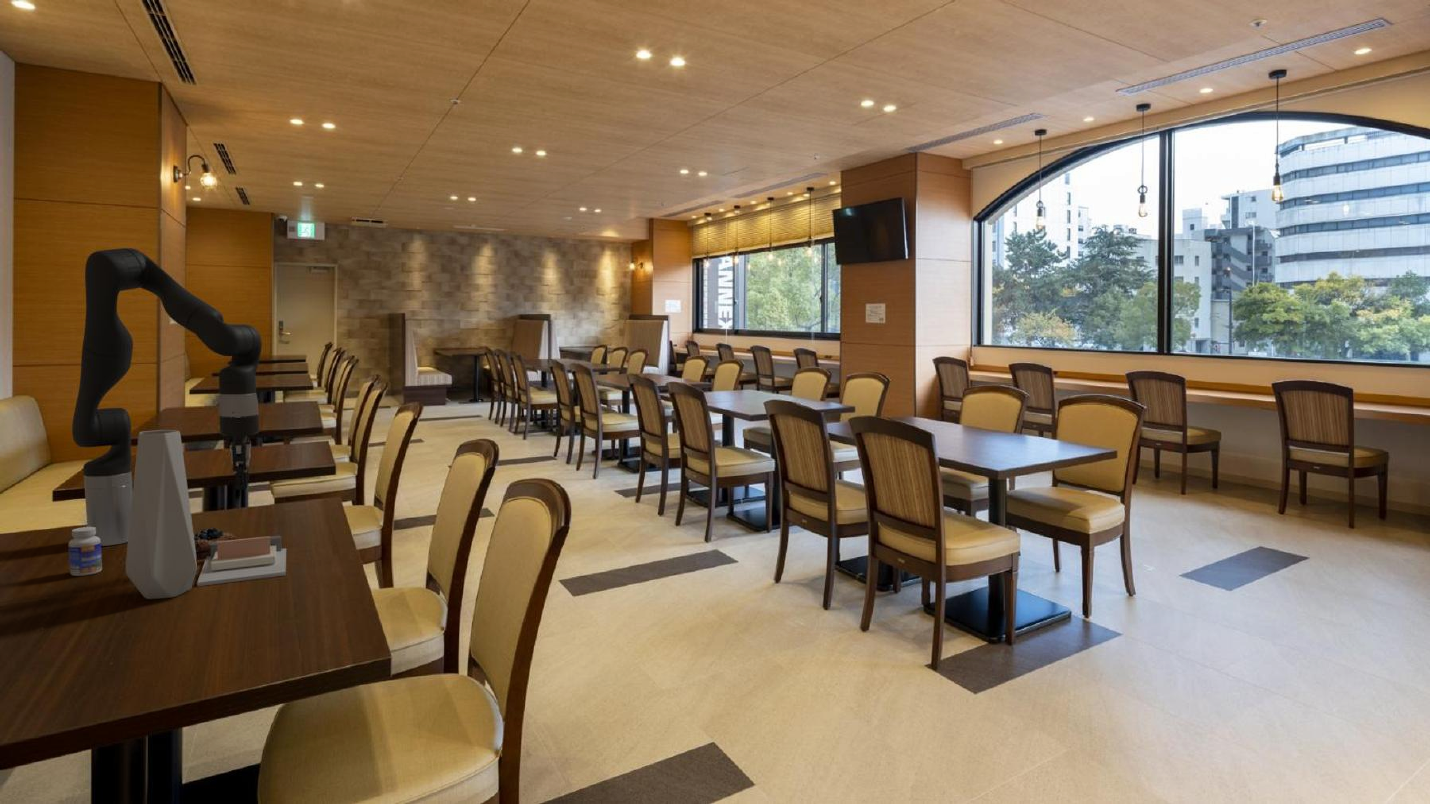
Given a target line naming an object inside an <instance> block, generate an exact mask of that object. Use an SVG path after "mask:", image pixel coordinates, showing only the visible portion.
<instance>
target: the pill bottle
mask: <svg viewBox="0 0 1430 804" xmlns="http://www.w3.org/2000/svg"><path fill="white" fill-rule="evenodd" d="M95 534H96V528H95V527H87V526H83V527H78V528H74V529H72V530H71V537H72V538H73V539H70V541H69V542H68V558H69V559H68V560H69V572H70V573H69V574H70V575H71V576H75V577H84V576H90V575H94V574H98V573H100V572H101V571H102V570H103V561H102V560H103V559H102V546H101V542H100V538H99V537H96V536H95Z"/></svg>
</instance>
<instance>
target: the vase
mask: <svg viewBox="0 0 1430 804" xmlns="http://www.w3.org/2000/svg"><path fill="white" fill-rule="evenodd" d="M135 456H136V458H135V465H134V466H135V469H134V476H133V477H134V478H133V484H132V489H133V495H132V506H131V516H130V526H129V536H128V542H127V546H126V547H127V548H126V559H125V574H126V576H127V578H129V580H130V581H131V582H132V583H133V585H134V586H135V587H136V589H137V590H138V591H139V593H140V594H141V595H142V596H143V598H144V599H147V600H156V599H157V600H158V599H168V598H169V599H170V598H175V597H178V596H180V595H182V594H185V593H186V592H188V591H190V590H191V589H192V586H193V583H194V580H195V577H196V574H197V569H198V564H197V560H196V549H195V541H194V535H195V534H194V527H193V519H192V511H191V503H190V495H189V488H188V480H187V474H186V473H187V472H186V467H185V460H184V459H185V458H184V451H183V443H182V436H181V431H179V430H173V429H157V430H154V429H153V430H147V431H145V430H143V431H140V432H139V433H138V437H137V447H136V455H135Z"/></svg>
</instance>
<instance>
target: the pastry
mask: <svg viewBox="0 0 1430 804" xmlns="http://www.w3.org/2000/svg"><path fill="white" fill-rule="evenodd" d="M236 539H238V537H236V536H235V535H234V534H232V533H231V532H228V531H227V532H223V530H222V529H217V528H216V527H210V528H208V529H207V528H205V529H204V528H203V529H202V530H201V531H200V532H197V533H196V534H194V541H195V549H196V561H198V560H204V559H205V560H206V557H210V556H211V550H210V545H211V543H212V542H217V541H227V540H236Z"/></svg>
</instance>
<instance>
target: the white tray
mask: <svg viewBox="0 0 1430 804" xmlns="http://www.w3.org/2000/svg"><path fill="white" fill-rule="evenodd" d="M269 536H270V535H269ZM210 550H211V556H210V557H206V558H205V560H204V563H203V566H202V569H201V571H200V573H199V577H198V579H197V582H196V585H197V586H196V587H203V586H212V585H220V584H226V583H234V582H241V581H243V582H244V581H250V580H251V581H252V580H259V579H267V578H268V579H270V578H276V577H282V576H286V572H287V570H286V569H287V548H286V547H285V548H282V535H272V536H270V551H275V550H276V562H275V563H273V564H265V565H256V566H248V567H239V568H231V569H222V570H214V571H212V570H211V563H212V560H213V557H218V555H217V542H212V543H211V545H210Z"/></svg>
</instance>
